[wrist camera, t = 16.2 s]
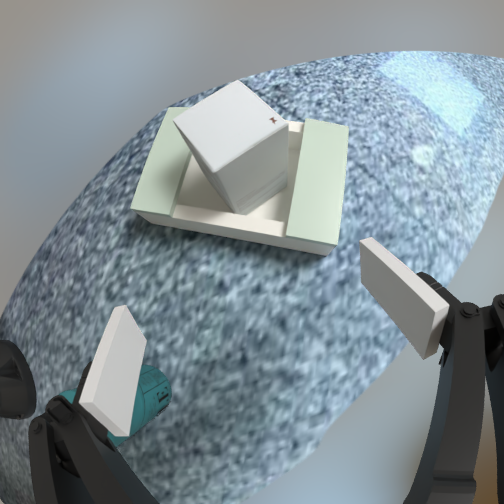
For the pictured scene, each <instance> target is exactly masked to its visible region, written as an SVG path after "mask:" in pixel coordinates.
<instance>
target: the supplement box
mask: <svg viewBox="0 0 504 504" xmlns="http://www.w3.org/2000/svg"><path fill="white" fill-rule="evenodd" d="M173 122H174V124H175V126H176V127H177V129H178V131H179V132H180V134H181V136H182V138H183V139H184V141H185V143H186V144H187V146H188V148H189V149H190V151H191V153H192V154H193V156H194V158H195V160H196V161H197V163H198V165H199V167H200V169H201V170H202V172H203V174H204V176H205V177H206V179H207V180H208V181H209V182H210V184H211V185H212V186H213V188H214V189H215V190H216V192H217V193H218V194H219V195H220V197H221V198H222V199H223V201H224V202H225V203H226V204H227V206H228V207H229V208H230V209H231V211H232V212H233V213H234V214H240V215H247V214H249V213H250V212H252V211H253V210H254V209H256V208H257V207H259V206H260V205H261V204H263V203H264V202H265V201H267V200H268V199H270V198H271V197H272V196H274V195H275V194H277V193H278V192H279V191H281V190H282V189H284V188H285V187H287V174H288V141H289V123H288V122H286V121H285V120H284V119H283V118H282V117H281V116H280V115H279V114H277V113H276V112H275V111H274V110H273V109H272V108H271V107H270V106H268V105H267V104H266V103H265V102H264V101H263V100H262V99H260V98H259V97H258V96H257V95H256V94H255V93H253V92H252V91H251V90H250V89H249V88H248V87H246V86H245V85H244V84H243V83H241V82H240V81H239V80H236V81H234V82H232V83H231V84H229V85H227V86H225V87H224V88H222V89H220V90H218V91H217V92H215V93H213V94H212V95H210V96H208V97H207V98H205V99H203V100H202V101H200V102H199V103H197V104H195V105H194V106H192V107H191V108H189V109H188V110H186V111H184V112H183V113H181V114H180V115H178V116H177V117H175V118H174V119H173Z"/></svg>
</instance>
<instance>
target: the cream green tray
mask: <svg viewBox="0 0 504 504" xmlns="http://www.w3.org/2000/svg"><path fill="white" fill-rule="evenodd" d="M188 109H189V108H186V107H169V108H168V111H167V113H166V115H165V117H164V120H163V122H162V124H161V126H160V129H159V131H158V133H157V136H156V138H155V141H154V143H153V146H152V148H151V151H150V153H149V156H148V158H147V161H146V164H145V166H144V169H143V172H142V175H141V178H140V180H139V183H138V186H137V189H136V192H135V195H134V198H133V201H132V204H131V208H130V209H131V210H133V211H134V212H136V213H137V214H139V215H140V216H142V217H143V218H145V219H146V220H147V221H149V222H150V223H152V224H157V225H162V226H168V227H174V228H179V229H185V230H190V231H196V232H201V233H207V234H212V235H218V236H223V237H229V238H234V239H240V240H245V241H250V242H256V243H261V244H266V245H272V246H277V247H282V248H288V249H293V250H298V251H303V252H308V253H314V254H319V255H324V256H327V255H328V254H329V253H330V252H331V251H332V250H333V249H334V248H335V247H336V246H337V243H338V236H339V229H340V221H341V213H342V204H343V195H344V185H345V174H346V162H347V148H348V131H349V127H348V126H343V125H339V124H334V123H329V122H324V121H319V120H313V119H307V118H306V120H305V123H300V122H294V121H287V120H285V121H286V122H288V123H289V141H288V174H287V187H285V188H284V189H282V190H281V191H279V192H278V193H277V194H275V195H274V196H272V197H271V198H270V199H268V200H267V201H265V202H264V203H263V204H261V205H260V206H259V207H257V208H256V209H254V210H253V211H252V212H250V213H249V214H247V215H240V214H234V213H233V212H232V211H231V209H230V208H229V207H228V206H227V204H226V203H225V202H224V201H223V199H222V198H221V197H220V195H219V194H218V193H217V192H216V190H215V189H214V188H213V186H212V185H211V184H210V182H209V181H208V180H207V179H206V177H205V176H204V174H203V172H202V170H201V169H200V167H199V165H198V163H197V161H196V160H195V158H194V156H193V154H192V153H191V151H190V149H189V148H188V146H187V144H186V143H185V141H184V139H183V138H182V136H181V134H180V132H179V131H178V129H177V127H176V126H175V124H174V122H173V119H174V118H175V117H177V116H178V115H180V114H181V113H183V112H184V111H186V110H188Z"/></svg>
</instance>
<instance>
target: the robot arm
mask: <svg viewBox="0 0 504 504" xmlns="http://www.w3.org/2000/svg"><path fill="white" fill-rule="evenodd" d="M359 243H360V262H361V283H362V284H363V285H364V286H365V288H366V289H367V290H368V291H369V292H370V293H371V295H372V296H373V297H374V298H375V299H376V301H377V302H378V303H379V304H380V305H381V307H382V308H383V309H384V310H385V312H386V313H387V314H388V315H389V316H390V318H391V319H392V320H393V321H394V323H395V324H396V325H397V326H398V328H399V329H400V330H401V331H402V333H403V334H404V335H405V337H406V338H407V339H408V340H409V342H410V343H411V344H412V345H413V347H414V348H415V349H416V351H417V352H418V353H419V355H420V356H421V357H422V359H423V360H424V359H426V358H427V357H429V356H431V355H433V354H435V353H436V352H437V349H438V346H439V343H440V345H441V346H442V347H443V348H444V350H443V353H442V356H441V359H440V361H439V364H441V369H440V378H439V384H438V390H437V396H436V401H435V406H434V411H433V416H432V421H431V425H430V429H429V433H428V437H427V441H426V444H425V448H424V451H423V455H422V458H421V461H420V465H419V468H418V471H417V473H416V476H415V479H414V482H413V485H412V487H411V490H410V492H409V494H408V496H407V497H406V499H405V500H404V502H403V504H472V502H473V499H474V495H475V491H476V481H475V480H474V478H473V473H474V468H475V464H476V458H477V454H478V448H479V442H480V436H481V429H482V420H483V410H484V396H485V376H486V381H487V385H488V390H489V395H490V401H491V407H492V413H493V420H494V428H495V438H496V450H497V489H498V490H497V494H498V503H499V504H504V294H503V295H502V294H500V295H497V296H495V297H494V299H493V302H492V305H491V306H487V307H482V308H479V307H478V306H477V305H475V304H473V303H469V302H463V303H461V302H460V301H459V300H458V299H457V298H455V297H454V296H453V295H452V294H451V293H450V292H449V291H448V290H447V289H445V288H444V287H442V285H441V284H440V283H439V282H438V283H437V281H436V280H435V279H434V278H433V277H432V276H430V275H428V274H426V273H423V272H419V273H417V274H415V273H414V272H413V271H412V270H410V269H409V268H408V267H407V266H406V265H405V264H403V263H402V262H401V261H400V260H399V259H398V258H396V257H395V256H394V255H393V254H392V253H390V252H389V251H388V250H387V249H385V248H384V247H383V246H382V245H381V244H379V243H378V242H377V241H376V240H374V239H373V238H372V237H370V238H366V239H363V240H360V241H359ZM146 342H147V340H146V339H145V337H144V335H143V334H142V332H141V331H140V329H139V327H138V325H137V324H136V322H135V320H134V319H133V317H132V315H131V313H130V312H129V310H128V308H127V306H126V305H123V306H119V307H115V308H114V310H113V312H112V315H111V317H110V319H109V322H108V324H107V327H106V329H105V331H104V334H103V336H102V339H101V341H100V344H99V346H98V349H97V352H96V354H95V357H94V360H93V361H92V362H89V363H88V365H87V366H86V367H85V369H84V371H83V374H82V376H81V379H80V382H79V385H78V388H77V390H76V393H75V396H74V399H73V402H72V404H71V403H70V402H69V401H68V400H67V399H66V398H65V397H64V396H62V395H57V396H55V397H53V398H52V399H51V400H50V401H49V402H48V404H47V405H46V409H45V412H46V415H47V416H48V417H50V418H51V419H52V420H53V422H50V423H48V422H47V421H46V420H45V419H44V418H41V417H38V418H36V419H34V420H33V421H32V422H31V424H30V426H29V431H28V435H29V455H30V467H31V476H32V484H33V490H34V496H35V502H36V504H159V503H158V502H157V501H156V499H155V498H154V497H153V496H152V495H151V494H150V492H149V491H148V490H147V489H146V488H145V486H144V485H143V484H142V483H141V481H140V480H139V479H138V477H137V476H136V475H135V474H134V472H133V471H132V470H131V468H130V467H129V465H128V464H127V463H126V461H125V460H124V458H123V457H122V456H121V454H120V453H119V451H118V450H117V448H116V447H115V445H114V444H113V442H112V441H111V439H110V438H109V437H107V434H108V430H109V431H110V432H111V433H112V434H113V435H114V436H129V433H130V426H131V419H132V413H133V407H134V401H135V396H136V390H137V385H138V380H139V374H140V369H141V365H142V360H143V355H144V351H145V346H146ZM35 408H36V392H35V386H34V382H33V378H32V375H31V372H30V369H29V367H28V364H27V362H26V360H25V358H24V356H23V355H22V353H21V351H20V350H19V349H18V347H17V346H16V345H15V344H14V343H12V342H11V341H8V340H0V417H3V418H10V419H18V420H21V419H25V418H28V417H30V416H32V415H33V413H34V411H35ZM56 457H57V458H58V462H57V459H56Z"/></svg>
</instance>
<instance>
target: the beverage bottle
mask: <svg viewBox="0 0 504 504" xmlns="http://www.w3.org/2000/svg"><path fill="white" fill-rule="evenodd" d="M76 390H77V388H76V389H73V390H67V391H64V392H62V393H60V394H59V395H62V396H64V397H65V398H66V399H67V400H68V401H69V402H70V403H71V404H72V402H73V399H74V396H75V393H76ZM171 397H172V391H171V386H170V383H169V381H168V379H167V377H166V376H165V375H164V374H163V373H162V372H161V371H160V370H159V369H157V368H155V367H153V366H149V365H141V369H140V374H139V380H138V385H137V390H136V396H135V401H134V407H133V413H132V419H131V426H130V433H129V436H114V435H113V434H112V433H111V432H110V431H109V430H108V434H107V437H109V438H110V439H111V441H112V442H113V444H114V445H115V447H117V446H118V445H120V444H121V443H122V442H123V441H125V440H126V439H128V438H129V437H131V436H132V435H133V434H134V433H135V434H136V433H137V432H138V430H139V429H140V428H142V427H143V426H144V425H145V424H147V423H148V422H149V421H150V420H152V419H153V418H154V417H155V416H157V414H159V413H160V414H161V413H162V412H163V411H162V410H163V409H164V408H165V409H166V407H167V405H169V402H171V401H170V399H171ZM161 411H162V412H161ZM160 414H159V415H160ZM38 417H41V418H44V419H45V420H46V421H47V422H48V423H50V422H53V420H52V419H51V418H50V417H48V416H47V415H46V412H45V413H43V414H42V415H40V416H38ZM38 417H36V418H38ZM36 418H34V419H36ZM34 419H33V420H34ZM33 420H32V421H33ZM153 420H154V419H153ZM153 420H152V421H153ZM32 421H31V422H32ZM134 436H135V435H134ZM129 440H130V439H129ZM56 459H57V462H58V458H57V457H56Z"/></svg>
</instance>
